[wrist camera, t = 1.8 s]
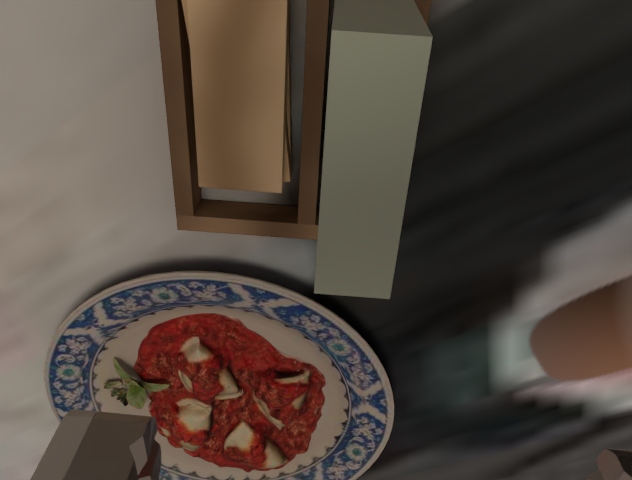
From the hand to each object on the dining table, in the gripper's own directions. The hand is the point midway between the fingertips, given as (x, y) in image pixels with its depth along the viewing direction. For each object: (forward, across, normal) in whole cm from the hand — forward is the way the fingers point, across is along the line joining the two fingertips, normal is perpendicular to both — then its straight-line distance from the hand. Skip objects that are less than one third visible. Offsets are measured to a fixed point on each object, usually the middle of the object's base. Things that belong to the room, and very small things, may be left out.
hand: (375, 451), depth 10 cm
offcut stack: (+23, +6, 0) cm, 24 cm away
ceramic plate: (+23, +8, +25) cm, 35 cm away
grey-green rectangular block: (+23, 0, 0) cm, 23 cm away
